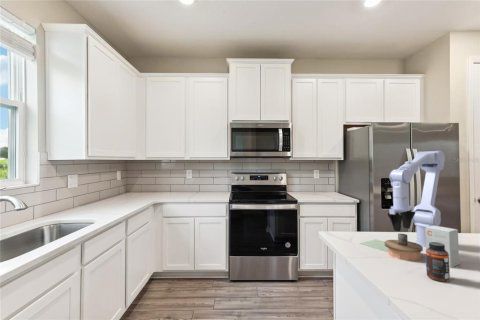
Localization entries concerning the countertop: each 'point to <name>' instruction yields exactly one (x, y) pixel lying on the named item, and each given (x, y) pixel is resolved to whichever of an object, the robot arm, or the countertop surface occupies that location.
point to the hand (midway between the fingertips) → (401, 229)
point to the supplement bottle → (437, 262)
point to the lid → (403, 244)
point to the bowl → (405, 255)
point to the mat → (376, 245)
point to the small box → (444, 241)
